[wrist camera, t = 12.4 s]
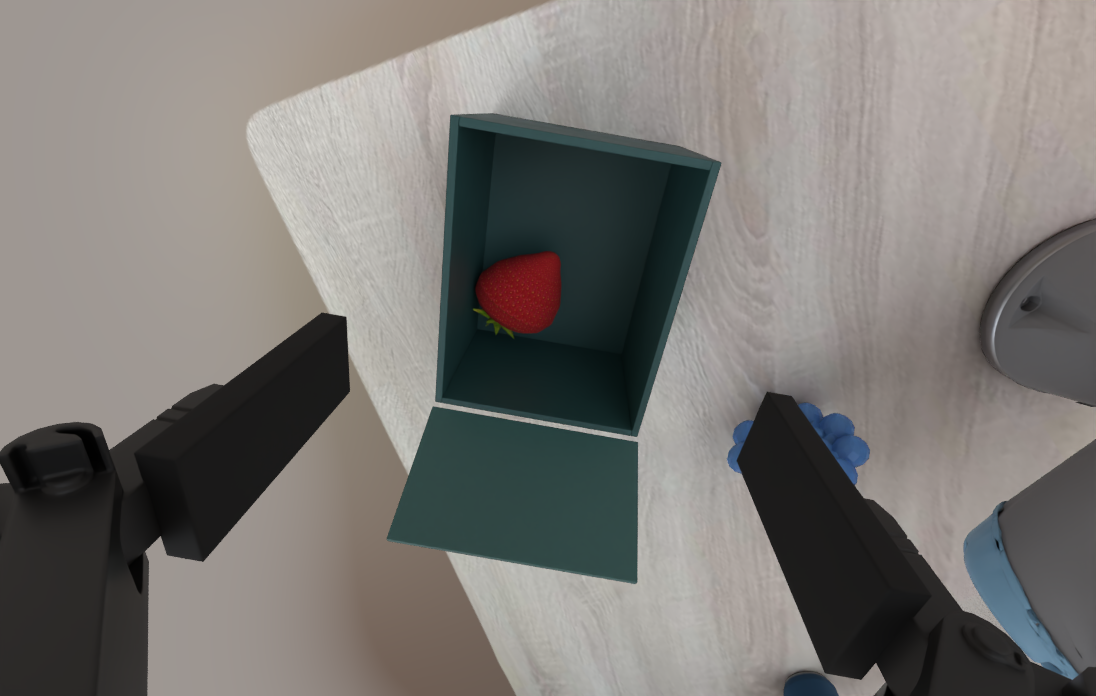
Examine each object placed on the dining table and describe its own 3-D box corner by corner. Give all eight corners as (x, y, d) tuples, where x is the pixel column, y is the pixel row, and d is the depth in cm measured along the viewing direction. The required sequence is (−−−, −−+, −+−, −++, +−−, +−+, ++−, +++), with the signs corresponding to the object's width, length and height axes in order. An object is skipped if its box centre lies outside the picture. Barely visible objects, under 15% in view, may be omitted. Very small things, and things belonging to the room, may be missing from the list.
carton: (625, 356, 45) (637, 437, 34) (472, 330, 45) (435, 401, 34) (681, 146, 36) (721, 162, 25) (492, 113, 36) (450, 114, 25)
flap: (638, 442, 33) (636, 444, 34) (432, 406, 33) (433, 409, 34) (637, 582, 27) (635, 584, 28) (386, 538, 27) (387, 541, 28)
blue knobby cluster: (713, 451, 49) (748, 545, 39) (708, 398, 47) (744, 484, 36) (831, 436, 47) (902, 531, 37) (833, 380, 45) (910, 465, 34)
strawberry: (586, 255, 41) (521, 327, 46) (514, 210, 37) (452, 294, 42) (598, 297, 36) (524, 371, 42) (518, 251, 33) (448, 339, 38)
